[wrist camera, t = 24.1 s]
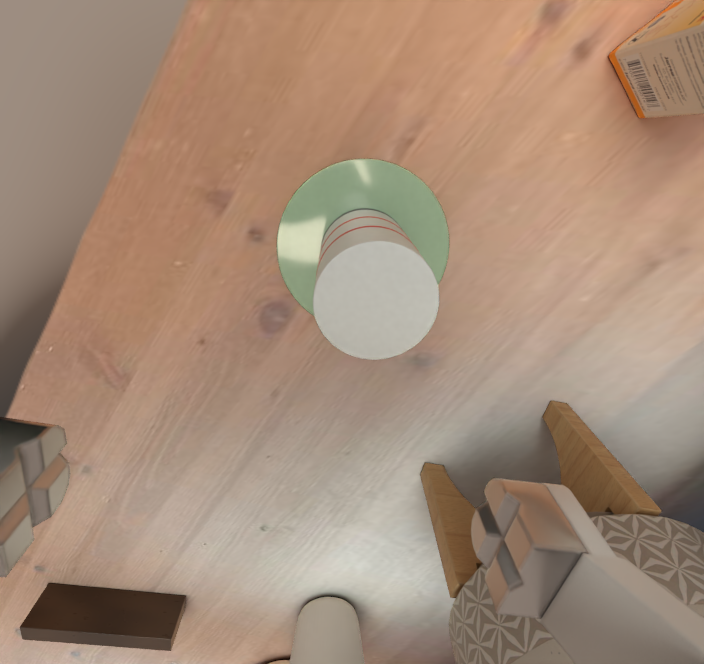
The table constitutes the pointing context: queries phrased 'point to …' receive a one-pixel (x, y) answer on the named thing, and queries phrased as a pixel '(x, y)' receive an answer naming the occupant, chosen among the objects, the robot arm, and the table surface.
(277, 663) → the mug
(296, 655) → the cup
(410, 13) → the table surface
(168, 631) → the rail
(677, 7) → the supplement box
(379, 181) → the coaster
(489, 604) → the planter
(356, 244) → the white striped cylinder
